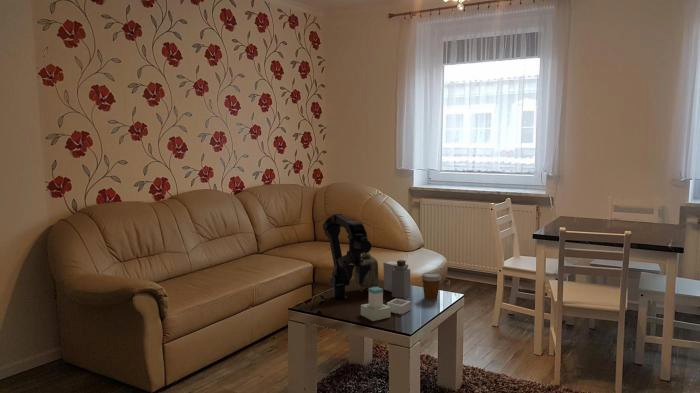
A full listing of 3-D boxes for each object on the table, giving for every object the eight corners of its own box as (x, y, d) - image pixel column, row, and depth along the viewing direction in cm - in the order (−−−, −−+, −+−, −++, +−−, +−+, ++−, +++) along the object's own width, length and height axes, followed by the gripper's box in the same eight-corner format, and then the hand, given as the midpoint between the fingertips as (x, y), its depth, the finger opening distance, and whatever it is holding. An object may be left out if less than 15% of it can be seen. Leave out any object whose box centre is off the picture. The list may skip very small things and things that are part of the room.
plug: (368, 315, 227) (368, 288, 225) (376, 313, 229) (377, 286, 228) (374, 318, 223) (374, 290, 221) (382, 316, 225) (383, 289, 224)
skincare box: (401, 291, 263) (402, 263, 262) (392, 293, 260) (393, 264, 258) (391, 287, 270) (392, 260, 269) (382, 289, 267) (383, 261, 265)
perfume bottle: (409, 295, 257) (410, 260, 255) (403, 298, 251) (404, 262, 249) (398, 293, 260) (398, 258, 258) (391, 296, 255) (392, 261, 253)
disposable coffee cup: (439, 302, 246) (439, 277, 244) (419, 300, 249) (419, 276, 247) (441, 296, 254) (442, 273, 253) (423, 294, 258) (423, 271, 256)
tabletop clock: (378, 294, 257) (378, 246, 254) (360, 296, 255) (361, 247, 252) (369, 287, 271) (369, 240, 268) (353, 288, 269) (353, 241, 266)
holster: (386, 311, 232) (387, 302, 232) (395, 306, 239) (395, 298, 238) (402, 314, 228) (402, 305, 227) (410, 309, 234) (410, 301, 234)
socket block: (360, 314, 227) (360, 305, 227) (378, 311, 232) (378, 301, 232) (372, 321, 219) (372, 311, 219) (390, 317, 224) (390, 307, 224)
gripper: (330, 247, 239) (330, 279, 241) (351, 254, 223) (350, 289, 225) (350, 244, 245) (350, 276, 247) (371, 251, 229) (371, 285, 231)
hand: (355, 281), depth 237 cm, fingers open, 9 cm apart
